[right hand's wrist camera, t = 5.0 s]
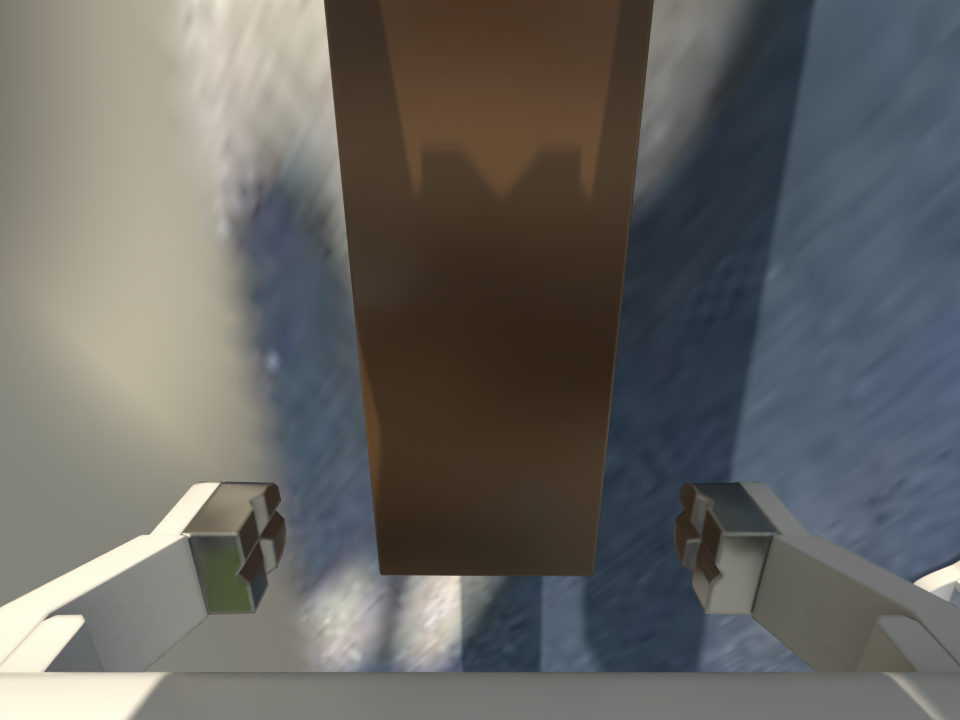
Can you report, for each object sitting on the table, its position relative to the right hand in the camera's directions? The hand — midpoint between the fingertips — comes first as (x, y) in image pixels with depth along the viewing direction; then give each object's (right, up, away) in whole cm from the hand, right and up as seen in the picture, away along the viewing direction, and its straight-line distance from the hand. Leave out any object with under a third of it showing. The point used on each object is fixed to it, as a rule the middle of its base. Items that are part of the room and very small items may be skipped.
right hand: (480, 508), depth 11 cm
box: (0, +11, +7) cm, 13 cm away
